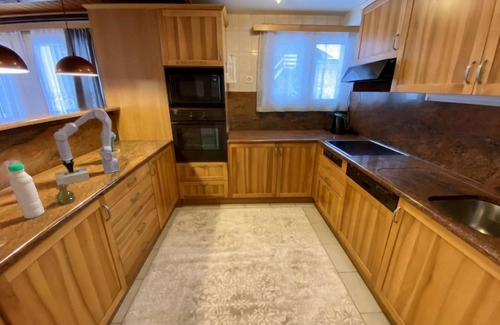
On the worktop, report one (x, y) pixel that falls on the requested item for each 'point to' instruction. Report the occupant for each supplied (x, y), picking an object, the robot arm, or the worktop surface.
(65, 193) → the olive green lumpy piece
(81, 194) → the worktop surface
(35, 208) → the white bottle
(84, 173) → the box
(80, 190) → the worktop surface
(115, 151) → the potted cactus
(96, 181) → the worktop surface
